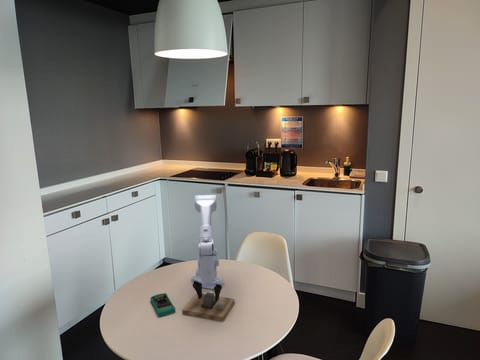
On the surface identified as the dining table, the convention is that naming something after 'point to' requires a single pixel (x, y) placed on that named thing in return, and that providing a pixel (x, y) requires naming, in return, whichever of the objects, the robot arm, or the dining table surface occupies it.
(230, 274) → the dining table surface
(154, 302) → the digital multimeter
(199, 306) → the socket board
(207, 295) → the grey block
